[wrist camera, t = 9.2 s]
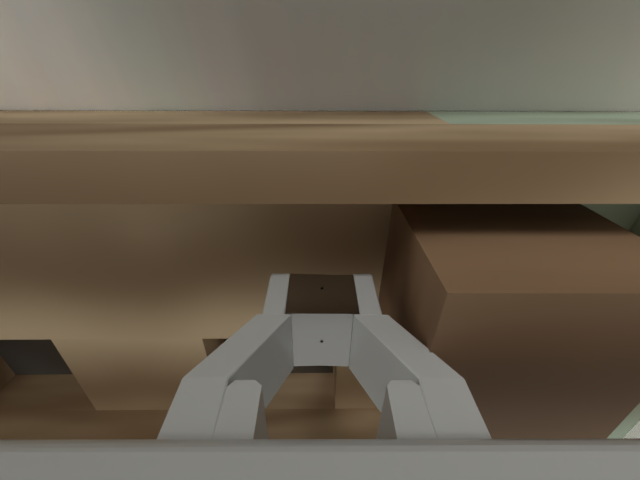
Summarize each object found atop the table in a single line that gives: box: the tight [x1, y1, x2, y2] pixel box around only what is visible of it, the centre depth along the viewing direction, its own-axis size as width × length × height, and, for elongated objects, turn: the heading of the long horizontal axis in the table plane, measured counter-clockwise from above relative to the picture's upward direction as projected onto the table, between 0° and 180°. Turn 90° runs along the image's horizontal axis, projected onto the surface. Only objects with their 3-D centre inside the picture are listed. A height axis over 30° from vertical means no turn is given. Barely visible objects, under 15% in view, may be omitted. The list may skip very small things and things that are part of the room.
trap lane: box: [0, 110, 640, 440], centre depth 11 cm, size 13×33×4 cm, turn 90°
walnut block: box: [378, 204, 640, 439], centre depth 8 cm, size 5×5×4 cm
